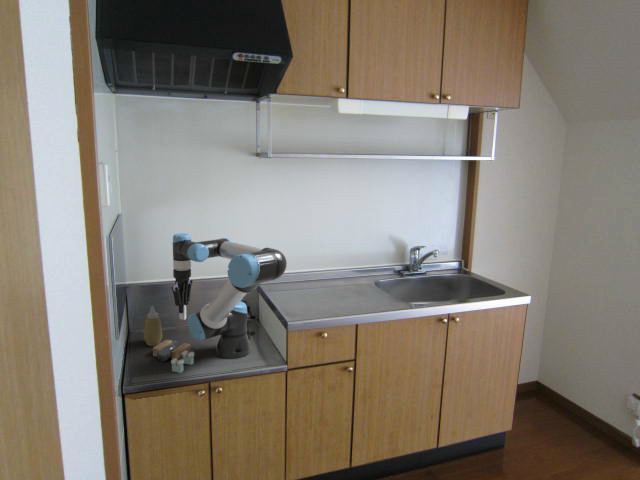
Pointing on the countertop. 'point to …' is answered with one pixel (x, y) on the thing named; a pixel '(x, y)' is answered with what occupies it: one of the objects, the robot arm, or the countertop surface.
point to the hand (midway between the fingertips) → (182, 318)
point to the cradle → (182, 361)
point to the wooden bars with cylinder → (175, 353)
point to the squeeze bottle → (152, 328)
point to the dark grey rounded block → (167, 351)
